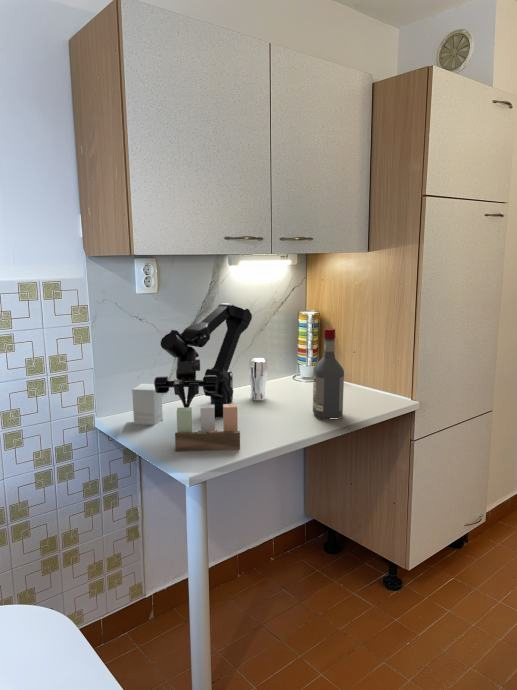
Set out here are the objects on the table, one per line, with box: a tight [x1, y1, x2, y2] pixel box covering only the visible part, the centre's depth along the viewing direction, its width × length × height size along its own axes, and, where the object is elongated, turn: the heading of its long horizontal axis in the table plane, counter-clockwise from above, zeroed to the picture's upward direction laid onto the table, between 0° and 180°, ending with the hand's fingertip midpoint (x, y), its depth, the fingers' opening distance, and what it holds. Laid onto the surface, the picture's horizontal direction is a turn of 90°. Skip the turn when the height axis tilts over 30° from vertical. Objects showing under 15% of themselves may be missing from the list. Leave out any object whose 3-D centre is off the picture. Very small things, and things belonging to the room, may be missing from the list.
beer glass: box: [248, 357, 268, 402], centre depth 203 cm, size 7×7×15 cm
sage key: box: [176, 406, 193, 432], centre depth 152 cm, size 3×4×11 cm
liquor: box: [312, 327, 345, 420], centre depth 181 cm, size 9×9×30 cm
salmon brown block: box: [222, 403, 239, 431], centre depth 156 cm, size 3×4×11 cm
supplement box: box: [131, 383, 164, 426], centre depth 174 cm, size 7×7×13 cm
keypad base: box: [174, 429, 241, 452], centre depth 154 cm, size 8×18×6 cm, turn 95°
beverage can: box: [227, 368, 234, 404], centre depth 199 cm, size 7×7×12 cm
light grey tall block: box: [199, 404, 216, 432], centre depth 155 cm, size 3×4×11 cm
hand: (186, 409), depth 158 cm, fingers closed
